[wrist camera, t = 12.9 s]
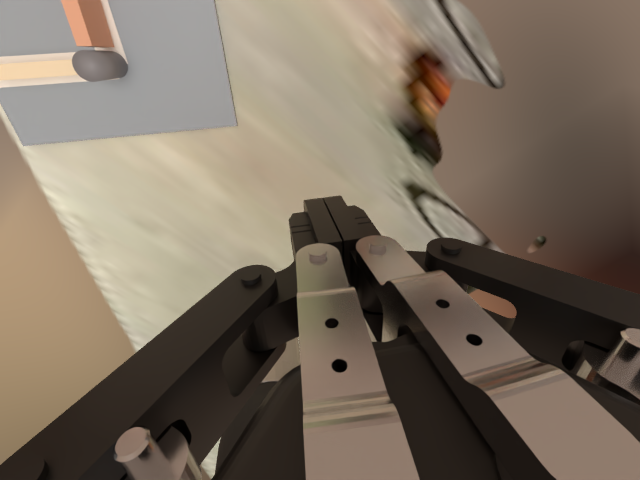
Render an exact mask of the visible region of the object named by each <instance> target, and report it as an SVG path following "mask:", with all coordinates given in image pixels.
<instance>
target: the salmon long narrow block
mask: <svg viewBox="0 0 640 480" xmlns="http://www.w3.org/2000/svg"><path fill="white" fill-rule="evenodd" d="M61 2H62V5H63V8H64V11H65V14H66V17H67V19H68V22H69V25H70V28H71V31H72V34H73V37H74V39H75V42H76V45H77V46H82V47H100V48H107V47H114V44H113V41H112V37H111V34H110V31H109V27H108V24H107V21H106V17H105V14H104V10H103V7H102V4H101V0H61Z"/></svg>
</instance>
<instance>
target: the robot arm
mask: <svg viewBox="0 0 640 480" xmlns="http://www.w3.org/2000/svg"><path fill="white" fill-rule="evenodd" d="M289 226H290V234H291V242H292V250H293V256H294V262H293V263H292V264H291V265H290V266H289V267H287V268H286V269H284V270H281V271H279V272H276V273H275V272H274V270H272V269H271V268H270V267H267V266H263V265H251V266H246V267H243V268H241V269H239V270H237V271H235V272H234V273H232V274H231V275H230V276H229V277H228V278H226V279H225V280H224V281H223V282H221V283H220V284H219V285H218V286H217V287H215V288H214V289H213V290H212V291H211V292H209V293H208V294H207V295H206V296H205V297H203V298H202V299H201V300H200V301H198V302H197V303H196V304H195V305H194V306H192V307H191V308H190V309H189V310H188V311H186V312H185V313H184V314H183V315H181V316H180V317H179V318H178V319H177V320H175V321H174V322H173V323H172V324H171V325H169V326H168V327H167V328H166V329H164V330H163V331H162V332H161V333H160V334H158V335H157V336H156V337H155V338H154V339H152V340H151V341H150V342H149V343H147V344H146V345H145V346H144V347H143V348H141V349H140V350H139V351H138V352H137V353H135V354H134V355H133V356H132V357H130V358H129V359H128V360H127V361H126V362H124V363H123V364H122V365H121V366H120V367H118V368H117V369H116V370H115V371H114V372H112V373H111V374H110V375H109V376H108V377H106V378H105V379H104V380H103V381H101V382H100V383H99V384H98V385H97V386H95V387H94V388H93V389H92V390H91V391H89V392H88V393H87V394H86V395H84V396H83V397H82V398H81V399H80V400H78V401H77V402H76V403H75V404H74V405H72V406H71V407H70V408H69V409H68V410H66V411H65V412H64V413H63V414H62V415H60V416H59V417H58V418H57V419H55V420H54V421H53V422H52V423H50V424H49V425H48V426H47V427H46V428H44V429H43V430H42V431H41V432H39V433H38V434H37V435H36V436H35V437H33V438H32V439H31V440H30V441H29V442H27V443H26V444H25V445H24V446H23V447H21V448H20V449H19V450H18V451H16V452H15V453H14V454H13V455H12V456H10V457H9V458H8V459H7V460H6V461H5V462H3V463H2V464H1V465H0V480H202V473H201V469H200V466H199V465H200V464H201V463H202V461H203V460H204V459H205V457H206V456H207V455H208V453H209V452H210V451H211V449H212V448H213V447H214V445H215V444H216V443H217V441H218V440H219V439H220V437H221V440H220V444H219V449H218V456H217V463H216V470H215V475H214V476H213V478H212V479H211V480H640V295H639V294H636V293H633V292H630V291H626V290H623V289H620V288H616V287H613V286H610V285H606V284H603V283H600V282H597V281H593V280H590V279H587V278H583V277H580V276H577V275H574V274H570V273H567V272H564V271H560V270H557V269H554V268H550V267H547V266H544V265H541V264H537V263H534V262H530V261H527V260H524V259H521V258H517V257H514V256H511V255H508V254H504V253H501V252H498V251H494V250H491V249H488V248H484V247H481V246H478V245H475V244H471V243H468V242H465V241H461V240H458V239H453V238H437V239H434V240H432V241H430V242H429V243H428V244H427V248H426V252H419V251H405V250H404V249H403V248H402V247H401V245H400V244H399V243H398V242H397V241H395V240H394V239H392V238H390V237H386V236H381V234H380V233H379V232H378V230H377V229H376V227H375V226H374V224H373V223H371V220H370V219H369V217H368V216H367V215H366V213H365V212H364V210H362V209H360V208H359V207H357V206H355V205H354V206H347V205H346V203H345V202H344V200H343V198H342V197H341V196H333V197H325V198H317V199H309V200H304V212H301V213H293V214H292V216H291V217H290V219H289ZM468 285H469V286H472V287H474V288H477V289H480V290H482V291H485V292H488V293H491V294H493V295H496V296H498V297H501V298H503V299H506V300H508V301H509V302H511V303H512V304H513V305H514V306H515V308H516V310H517V315H516V318H506V317H503V316H501V315H499V314H496V313H494V312H491V311H489V310H486V309H484V308H482V307H480V306H479V305H478V304H477V303H476V302H475V301H474V300H473V299H472V298H471V297H470V296H469V295H468V294H467V293H466V291H467V287H468ZM297 337H299V344H300V351H299V344H298V338H297Z"/></svg>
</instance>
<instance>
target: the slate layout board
mask: <svg viewBox="0 0 640 480" xmlns="http://www.w3.org/2000/svg"><path fill="white" fill-rule="evenodd" d="M101 4H102V7H103V10H104V14H105V17H106V21H107V24H108V27H109V31H110V34H111V37H112V41H113V44H114V47H107V48H100V47H82V46H77V45H76V42H75V39H74V37H73V34H72V31H71V28H70V25H69V22H68V19H67V17H66V14H65V11H64V8H63V5H62V2H61V0H0V104H1V105H2V107H3V109H4V111H5V113H6V115H7V117H8V119H9V120H10V122H11V124H12V126H13V128H14V130H15V132H16V133H17V135H18V137H19V139H20V141H21V143H22V145H23V146H28V145H39V144H50V143H60V142H71V141H82V140H92V139H103V138H114V137H124V136H135V135H145V134H156V133H167V132H177V131H188V130H199V129H209V128H220V127H231V126H237V120H236V115H235V110H234V104H233V99H232V93H231V88H230V83H229V77H228V72H227V66H226V61H225V56H224V50H223V45H222V39H221V34H220V29H219V23H218V18H217V12H216V7H215V2H214V0H101Z"/></svg>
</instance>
